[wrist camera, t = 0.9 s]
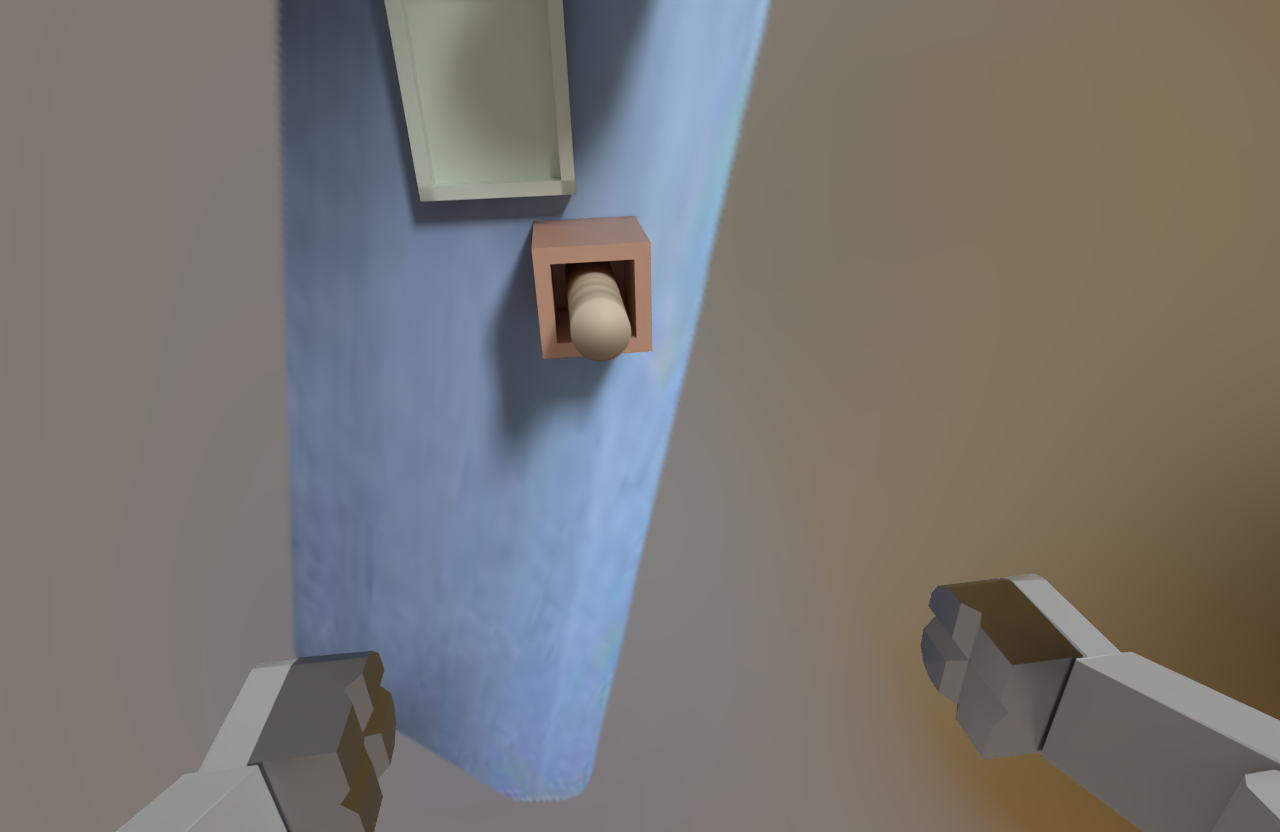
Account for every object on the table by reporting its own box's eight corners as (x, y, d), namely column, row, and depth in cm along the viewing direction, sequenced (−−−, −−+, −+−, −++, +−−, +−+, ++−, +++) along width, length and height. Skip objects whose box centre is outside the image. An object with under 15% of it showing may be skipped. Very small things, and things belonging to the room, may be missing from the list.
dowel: (563, 250, 41) (568, 306, 31) (610, 247, 41) (630, 302, 32) (567, 295, 42) (573, 363, 33) (612, 293, 43) (631, 358, 33)
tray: (383, -46, 33) (375, -52, 32) (558, -48, 34) (558, -53, 33) (425, 196, 39) (420, 201, 38) (574, 189, 40) (576, 194, 39)
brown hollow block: (533, 221, 41) (531, 248, 35) (634, 216, 41) (650, 241, 35) (543, 318, 44) (542, 359, 38) (637, 312, 44) (652, 351, 38)
